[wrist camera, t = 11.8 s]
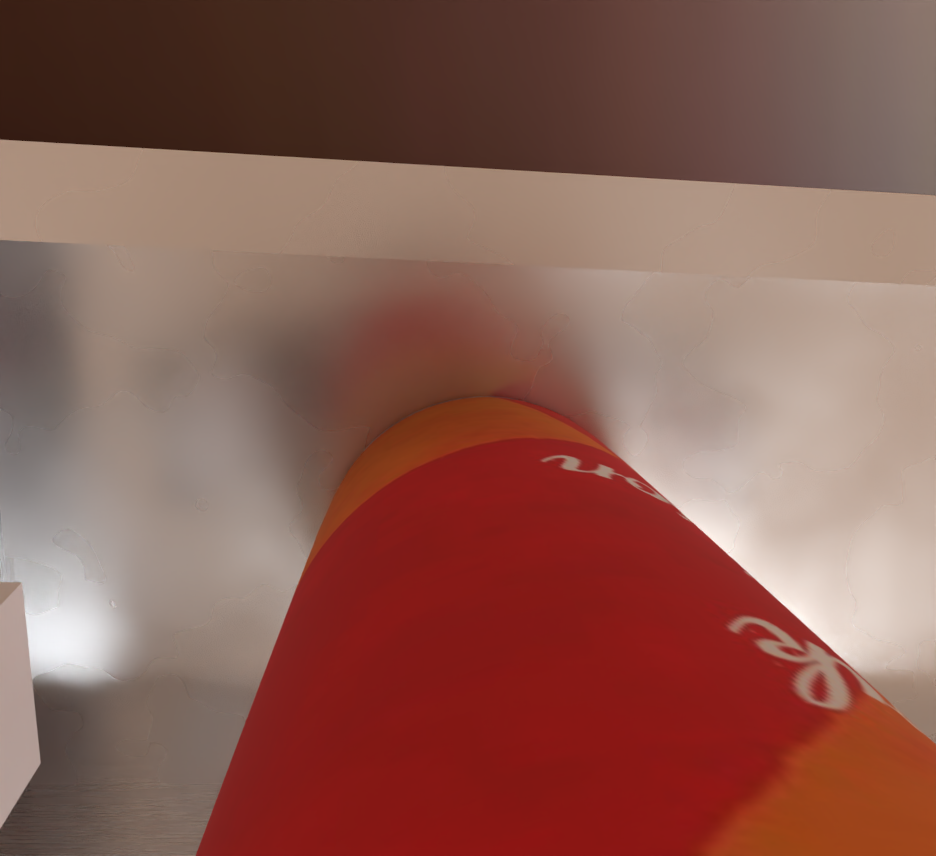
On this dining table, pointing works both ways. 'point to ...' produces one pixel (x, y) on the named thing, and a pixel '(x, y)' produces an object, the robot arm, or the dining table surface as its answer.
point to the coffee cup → (551, 675)
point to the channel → (411, 390)
